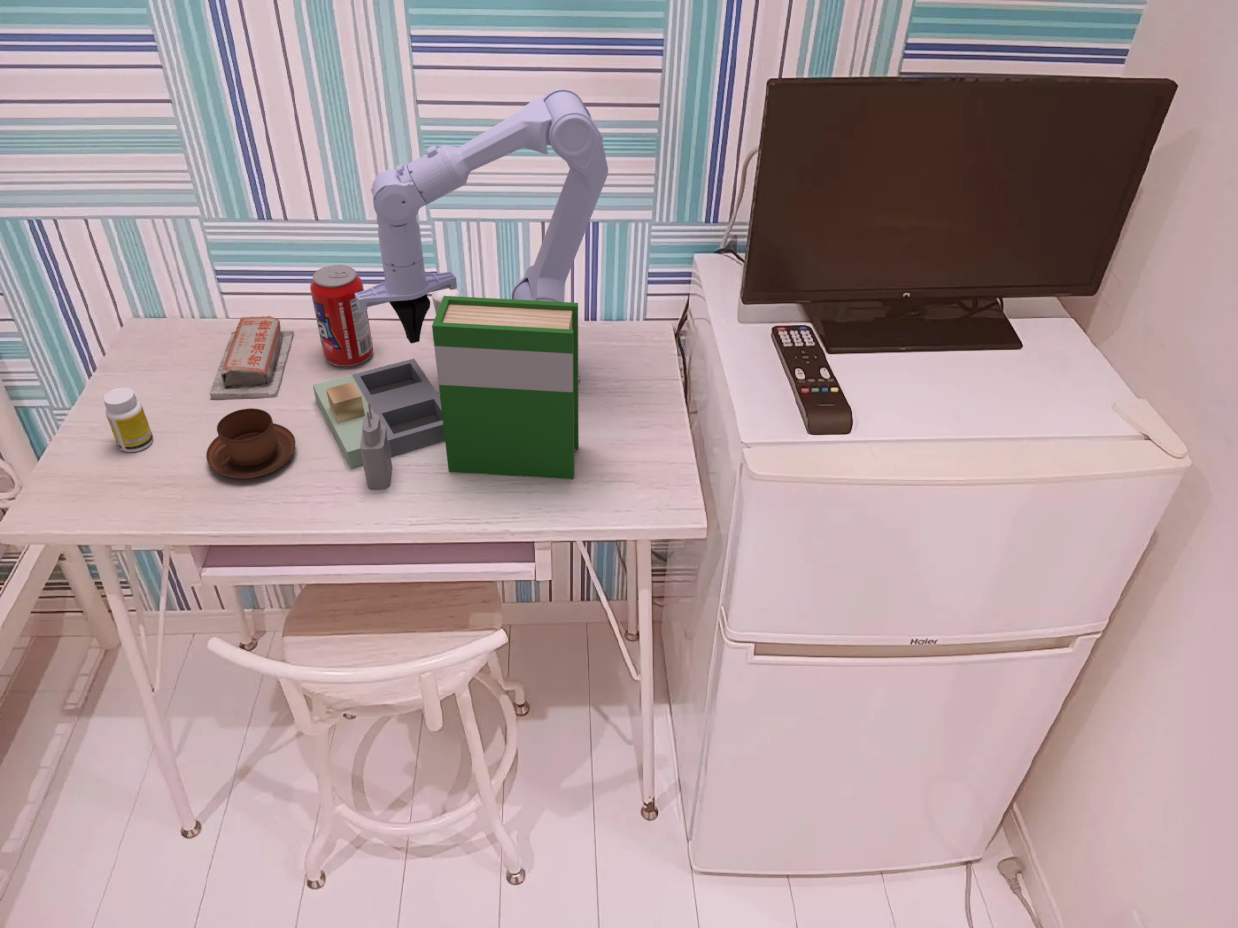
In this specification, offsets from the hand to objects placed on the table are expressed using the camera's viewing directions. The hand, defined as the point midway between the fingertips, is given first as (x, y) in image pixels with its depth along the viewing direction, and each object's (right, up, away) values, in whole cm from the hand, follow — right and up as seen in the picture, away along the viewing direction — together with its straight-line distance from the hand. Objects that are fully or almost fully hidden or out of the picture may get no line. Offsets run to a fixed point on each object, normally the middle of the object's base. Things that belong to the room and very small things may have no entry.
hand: (413, 339), depth 147 cm
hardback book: (+16, -18, -6) cm, 25 cm away
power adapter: (-3, -21, -10) cm, 23 cm away
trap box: (-4, -12, 0) cm, 13 cm away
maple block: (-9, -11, -4) cm, 15 cm away
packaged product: (-28, -3, +11) cm, 30 cm away
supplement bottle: (-39, -16, -5) cm, 42 cm away
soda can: (-13, -1, +13) cm, 18 cm away
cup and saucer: (-21, -18, -7) cm, 29 cm away
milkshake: (+3, +2, +18) cm, 18 cm away
